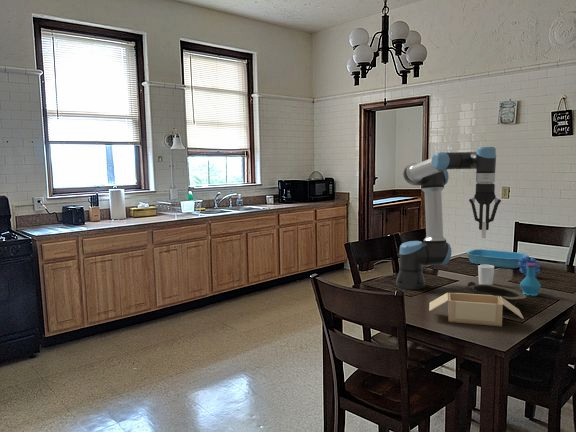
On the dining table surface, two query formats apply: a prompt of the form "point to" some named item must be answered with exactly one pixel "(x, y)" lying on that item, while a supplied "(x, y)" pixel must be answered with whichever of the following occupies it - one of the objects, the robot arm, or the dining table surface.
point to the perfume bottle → (530, 281)
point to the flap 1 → (438, 301)
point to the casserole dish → (495, 258)
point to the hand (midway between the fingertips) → (483, 237)
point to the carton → (475, 309)
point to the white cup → (486, 274)
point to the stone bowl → (497, 292)
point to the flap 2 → (511, 307)
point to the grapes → (524, 267)
